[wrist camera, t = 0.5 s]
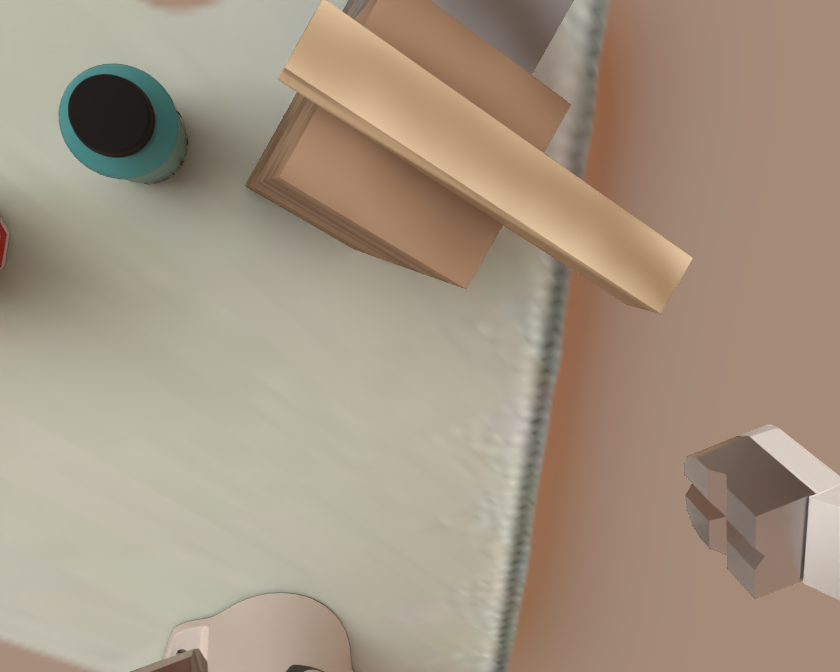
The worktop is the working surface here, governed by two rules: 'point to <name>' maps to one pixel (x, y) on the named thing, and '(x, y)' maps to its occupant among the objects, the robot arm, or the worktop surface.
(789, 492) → the robot arm
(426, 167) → the rod
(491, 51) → the stepped stand
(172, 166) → the beverage bottle
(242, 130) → the worktop surface
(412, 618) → the worktop surface
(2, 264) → the spray bottle
